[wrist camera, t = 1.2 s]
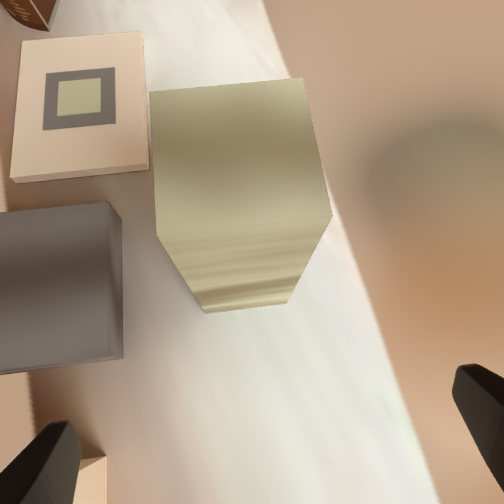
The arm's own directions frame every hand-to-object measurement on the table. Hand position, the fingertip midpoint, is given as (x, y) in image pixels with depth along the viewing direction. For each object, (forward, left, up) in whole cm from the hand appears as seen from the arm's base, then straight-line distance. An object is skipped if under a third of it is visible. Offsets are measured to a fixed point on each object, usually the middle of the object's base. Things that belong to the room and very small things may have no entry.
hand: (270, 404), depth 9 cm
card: (+21, +10, -13) cm, 27 cm away
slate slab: (+7, +12, -14) cm, 20 cm away
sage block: (+7, 0, -13) cm, 15 cm away
